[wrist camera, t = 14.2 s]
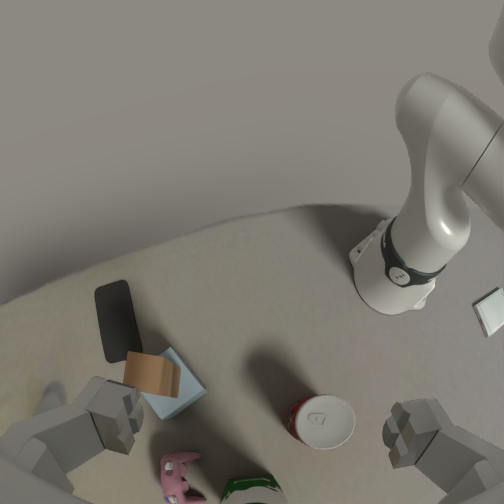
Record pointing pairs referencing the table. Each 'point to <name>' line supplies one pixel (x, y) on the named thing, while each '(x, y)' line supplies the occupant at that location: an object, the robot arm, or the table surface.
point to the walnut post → (152, 374)
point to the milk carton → (253, 491)
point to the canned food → (321, 421)
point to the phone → (117, 321)
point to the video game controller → (177, 478)
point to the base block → (188, 389)
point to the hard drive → (491, 312)
